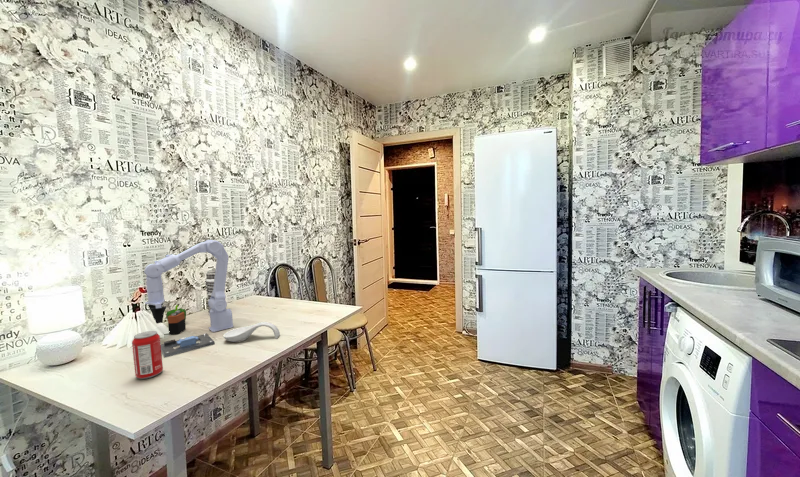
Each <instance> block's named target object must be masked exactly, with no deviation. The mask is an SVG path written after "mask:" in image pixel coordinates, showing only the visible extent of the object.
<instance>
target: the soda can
mask: <svg viewBox="0 0 800 477" xmlns="http://www.w3.org/2000/svg"><path fill="white" fill-rule="evenodd" d="M161 344H162V343H161V336H160V335H159V334H158V331H156V330H150V331H144V332H139V333H137V334H134V335H133V339H132V340H131V347H132V356H133V365H134V376H135V378H136V379H139V380H140V379H141V380H146V379H150V378H154V377H156V376H158V375H159V374H161V373H162V372H163V370H164V366H163V365H164V364H163V353H162V351H161Z"/></svg>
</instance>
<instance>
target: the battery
mask: <svg viewBox="0 0 800 477" xmlns="http://www.w3.org/2000/svg"><path fill="white" fill-rule="evenodd" d="M167 325H168V334H171V335H173V336H174V335H179V334H180V333H182V332H184V331H186V329H187V328H186V319H185V316H184V312H180V311H175V313H172V314H171V315H169V316H168V319H167ZM169 331H170V332H169ZM171 335H170V336H171Z"/></svg>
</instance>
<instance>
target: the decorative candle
mask: <svg viewBox="0 0 800 477" xmlns="http://www.w3.org/2000/svg"><path fill="white" fill-rule="evenodd" d="M215 270H216V269H210V270H208V271H207V272H206V273H205V275H206V279H205V281H204V282H205V284H204V285H205V286H206V287H205V289H206V290H205V291H206V295H207V302H208V301H209V299H210V298H211V294H212V292H213V287H214V278H215ZM207 307H208V308H207V310H208V315H209V316H210V310H211V307H209V305H208V304H207Z"/></svg>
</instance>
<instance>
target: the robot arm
mask: <svg viewBox="0 0 800 477" xmlns="http://www.w3.org/2000/svg"><path fill="white" fill-rule="evenodd" d="M199 253H201V254H202V253H205V254H206V253H208V254H211V255H212V256H213V257H214V258H215V259H216V263H215V269H214V270H215V278H214V287H213V292H212V294H211V298H210V299H209V301H208V300H207V306H208V305H209V307H211V310H210V315H209V317H210V318H209V320H210V326H208V329H209V330H210V332H212V333H214V332H218V331H224V330H227V329H231V328H234V320H233V312H232V309H231V308H227V306H228V302H227V301H226V292H225V290H226V289H225V288H226V281H227V272H228V265H229V254H228V253H227V250H226V249H225V246H224V244H223V243H221V242H220V241H219V240H215V239H206V240H205V241H201V242H199V243H196V244H195V245H193V246H190V247H189V248H187V249H185V250H184V251H182V252H180V253H178V254H172V253H170V254H166V255H165V257H163V258H161V259H158V260H154V261H153V262H154V263H150V264H148V265H146V266H145V268H144V270H143V272H144V274H145V275H146V277H145V279H146V281H145V282H146V292H147V293H146V294H147V301H145V302H144V305H147V307H148V308H149V310H150V312H151V314H152V318H153V320H154V321H155V323H156V324H162V323H163V320H164V314H165V312H166V309H167V306H165V305H164V306H163V304H164V303H165V302H166V301H165V295H164V283H163V279H162V274H163V273H166V272H168V271H170V270H172V269H174V268H177V267H178V266H180V263H181V262H182V261H184V260H185V259H188V258H189V257H191V256H194V255H196V254H199ZM209 307H208V308H209Z"/></svg>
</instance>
